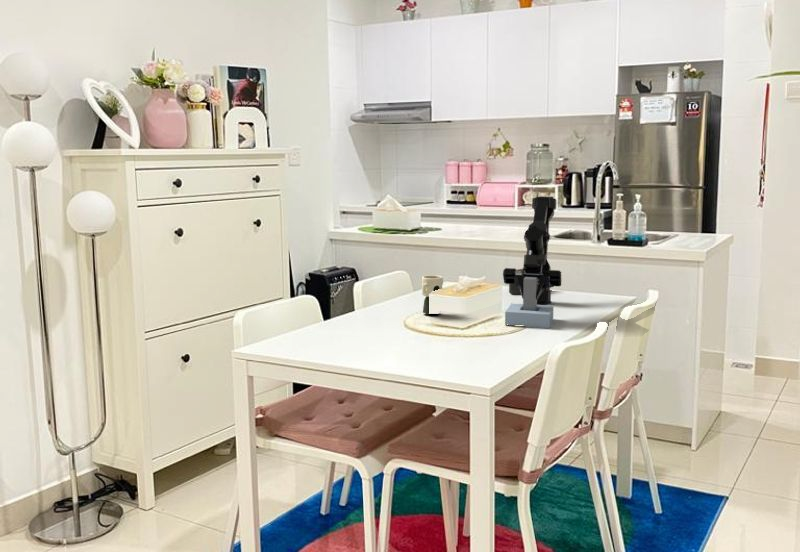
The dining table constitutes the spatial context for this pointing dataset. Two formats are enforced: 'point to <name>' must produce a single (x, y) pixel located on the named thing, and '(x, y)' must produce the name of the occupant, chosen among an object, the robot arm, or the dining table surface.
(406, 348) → the dining table surface
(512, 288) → the leaning round-cornered charcoal block
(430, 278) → the character mug
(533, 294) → the gray block
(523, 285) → the robot arm
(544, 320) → the socket block
